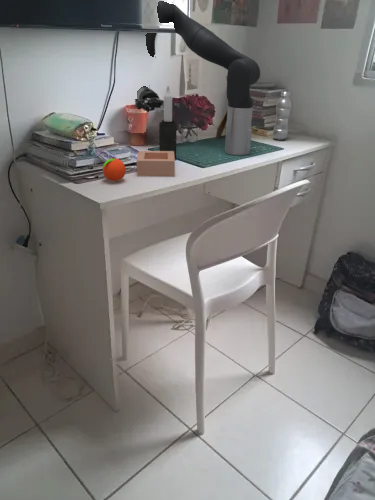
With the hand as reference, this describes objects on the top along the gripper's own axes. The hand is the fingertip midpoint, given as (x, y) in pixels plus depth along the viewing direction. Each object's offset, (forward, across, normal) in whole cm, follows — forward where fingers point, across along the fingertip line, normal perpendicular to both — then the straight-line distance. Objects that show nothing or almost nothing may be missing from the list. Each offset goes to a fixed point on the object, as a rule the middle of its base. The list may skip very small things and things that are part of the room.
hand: (159, 109), depth 148 cm
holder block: (+25, -8, +14) cm, 29 cm away
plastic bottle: (-3, +58, +14) cm, 60 cm away
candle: (+12, 0, +15) cm, 19 cm away
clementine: (+31, -24, +14) cm, 42 cm away
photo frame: (-15, +40, +16) cm, 45 cm away
